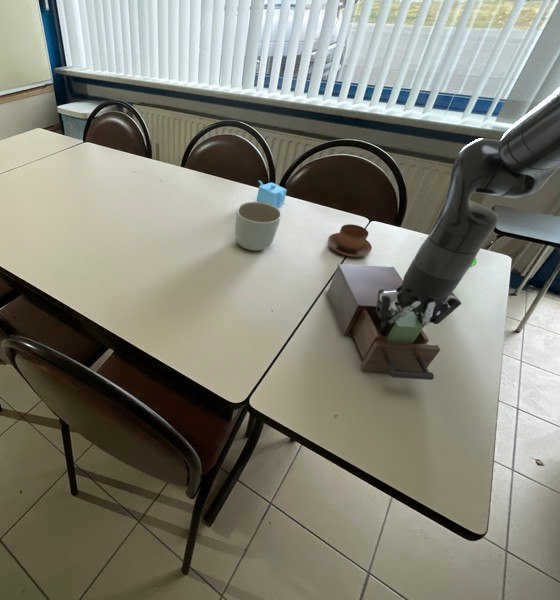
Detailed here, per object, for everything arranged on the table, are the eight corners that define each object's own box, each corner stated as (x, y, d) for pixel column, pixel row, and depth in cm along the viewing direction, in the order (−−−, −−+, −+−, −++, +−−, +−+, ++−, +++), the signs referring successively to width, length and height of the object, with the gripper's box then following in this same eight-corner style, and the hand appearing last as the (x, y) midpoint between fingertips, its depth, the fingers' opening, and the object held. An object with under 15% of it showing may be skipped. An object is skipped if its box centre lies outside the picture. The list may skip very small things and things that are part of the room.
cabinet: (402, 339, 82) (421, 308, 75) (343, 335, 82) (358, 305, 76) (378, 296, 93) (393, 266, 87) (326, 293, 94) (338, 263, 87)
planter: (271, 235, 115) (279, 203, 107) (275, 257, 105) (283, 224, 98) (231, 232, 116) (236, 200, 109) (231, 254, 107) (236, 220, 100)
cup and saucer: (329, 234, 115) (336, 216, 111) (371, 244, 111) (379, 226, 107) (322, 253, 107) (329, 235, 103) (367, 264, 103) (375, 246, 99)
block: (412, 344, 71) (423, 327, 68) (388, 342, 72) (398, 326, 69) (402, 327, 75) (412, 310, 72) (379, 325, 75) (388, 309, 72)
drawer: (433, 394, 70) (454, 370, 65) (370, 390, 70) (386, 366, 66) (395, 325, 84) (410, 301, 79) (343, 322, 84) (354, 298, 79)
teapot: (249, 199, 133) (252, 179, 128) (261, 195, 135) (265, 176, 130) (273, 213, 125) (278, 192, 120) (286, 208, 128) (291, 188, 123)
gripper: (404, 275, 59) (365, 345, 71) (497, 280, 59) (442, 350, 70) (387, 250, 65) (353, 318, 76) (471, 254, 64) (424, 322, 75)
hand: (396, 333), depth 73 cm, fingers closed on block, 4 cm apart
